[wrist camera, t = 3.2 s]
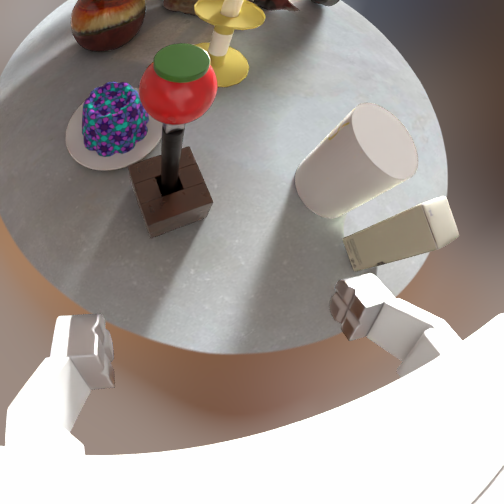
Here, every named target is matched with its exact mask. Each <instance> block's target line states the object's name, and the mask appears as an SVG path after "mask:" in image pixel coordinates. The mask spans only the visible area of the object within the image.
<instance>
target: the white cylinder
mask: <svg viewBox="0 0 504 504" xmlns="http://www.w3.org/2000/svg"><path fill="white" fill-rule="evenodd" d="M417 168H418V154H417V150H416V147H415V144H414V142H413V139H412V137H411V136H410V134H409V132H408V131H407V129H406V128H405V126H404V125H403V124H402V123H401V122H400V121H399V119H398V118H396V117H395V116H394V115H393V114H392V113H391V112H389V111H388V110H386V109H385V108H383V107H381V106H379V105H376V104H373V103H361V104H359V105H357V106H356V107H355V108H354V109H353V110H352V111H351V112H350V113H349V114H348V115H347V116H346V117H345V118H344V119H343V120H342V121H341V122H340V123H339V124H338V125H337V126H336V127H335V128H334V129H333V130H332V132H331V133H330V134H329V135H328V136H327V137H326V138H325V139H324V140H323V141H322V142H321V143H320V144H319V145H318V146H317V147H316V148H315V149H314V150H313V151H312V152H311V153H310V154H309V155H308V156H307V157H306V158H305V159H304V160H303V161H302V162H301V163H300V165H299V166H298V168H297V170H296V174H295V185H296V189H297V192H298V195H299V197H300V198H301V200H302V201H303V203H304V204H305V205H306V206H307V207H308V208H309V209H310V210H311V211H312V212H314V213H316V214H317V215H319V216H322V217H326V218H336V217H340V216H342V215H343V214H345V213H347V212H349V211H351V210H353V209H355V208H356V207H358V206H360V205H362V204H364V203H366V202H367V201H369V200H371V199H373V198H375V197H376V196H378V195H380V194H382V193H384V192H386V191H387V190H389V189H391V188H393V187H395V186H397V185H398V184H400V183H402V182H404V181H406V180H407V179H409V178H411V177H412V176H413V175H414V174H415V173H416V171H417Z"/></svg>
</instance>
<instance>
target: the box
mask: <svg viewBox="0 0 504 504" xmlns="http://www.w3.org/2000/svg"><path fill="white" fill-rule="evenodd" d="M458 237H459V233H458V230H457V227H456V224H455V221H454V218H453V215H452V212H451V209H450V206H449V204H448V201H447V198H446V197H445V196H441V197H438V198H435V199H432V200H429V201H426V202H424V203H421V204H419V205H417V206H414V207H412V208H410V209H408V210H405V211H403V212H401V213H399V214H396V215H394V216H392V217H390V218H388V219H385V220H383V221H381V222H379V223H376V224H374V225H372V226H370V227H368V228H365V229H363V230H361V231H358V232H356V233H354V234H352V235H349V236H347V237H344V238H343V239H342V240H343V243H344V245H345V248H346V251H347V254H348V256H349V259H350V262H351V264H352V267H353V270H354V271H360V270H364V269H368V268H371V267H375V266H379V265H383V264H386V263H390V262H394V261H398V260H401V259H405V258H409V257H412V256H416V255H419V254H423V253H427V252H430V251H434V250H437V249H440V248H442V247H444V246H446V245H447V244H449V243H450V242H452V241H453V240H455V239H456V238H458Z"/></svg>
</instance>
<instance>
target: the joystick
mask: <svg viewBox="0 0 504 504" xmlns="http://www.w3.org/2000/svg"><path fill="white" fill-rule="evenodd" d="M216 93H217V78H216V74H215V72H214V70H213V68H212V67H211V65H210V57H209V55H208V53H207V52H206V51H205V50H203V49H202V48H200V47H198V46H195V45H192V44H183V43H181V44H173V45H169V46H166V47H164V48H162V49H161V50H160V51H158V52H157V54H156V55H155V57H154V61H153V62H152V63H151V64H150V65H149V66H148V67H147V69H146V70H145V72H144V73H143V75H142V78H141V80H140V84H139V97H140V101H141V104H142V106H143V108H144V109H145V111H146V112H147V113H148V114H149V115H150V116H151V117H152V118H153V119H155V120H157V121H159V122H161V123H163V126H162V148H161V195H162V197H163V196H166V195H169V194H172V193H175V192H176V189H177V180H178V172H179V164H180V157H181V150H182V143H183V136H184V129H185V124H186V123H189V122H192V121H194V120H196V119H198V118H199V117H201V116H202V115H203V114H204V113H205V112H206V111H207V110H208V109H209V108H210V107H211V105H212V104H213V102H214V99H215V97H216Z"/></svg>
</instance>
